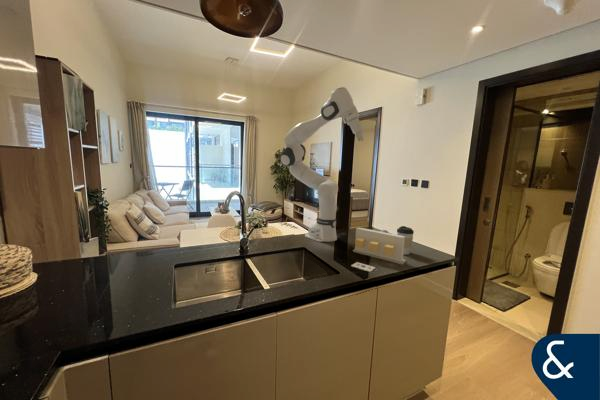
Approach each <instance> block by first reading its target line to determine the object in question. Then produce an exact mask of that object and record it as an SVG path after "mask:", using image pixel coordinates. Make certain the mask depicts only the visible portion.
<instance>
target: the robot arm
mask: <svg viewBox="0 0 600 400" xmlns="http://www.w3.org/2000/svg"><path fill="white" fill-rule="evenodd" d="M359 117H360V113H359V111H358V109H357V106H356V105H355V104H354V101H353V97H352V96H351V93H350V92H349V90H348V88H346V87H345V86H344V87H343V86H342V87H338V88H336V89H334V90H333V91H331V92H330V96H329V98H328V99H327V101H326V102H325V103H324V104H323V105H322V106H321V110H320V115H318V116H317V117H315V118H311V119H309V120H306V121H302V122H299V123H298V124H297V125H295V126H293V127H292V128H291V129H289V131H288V132H287V133H286V134H285V137H284V140H283V141H284V144H285V145H286V146H284V147H283V148H282V150H281V153H280V155H279V160H280V163H281V164H282V166H284V167H289V168H288V170H289V174H290V175H292V176H293V177H294V178H295V179H296V180H297V181H299V182H300V183H303V184H304V185H306V186H307V187H308V188H311V189H314V190H315V191H316V192H317V195H318V196H317V197H318V205H319V207H318V210H319V211H318V217H317V218H315V221H316V222H315V223H314V224H312V225H311V226H309V228H308V231H307V233H305V235H304V237H305V238H307V239H310V240H313V241H316V242H319V243H320V242H323V243H324V242H327V243H328V242H335V241H337V240H338V236H337V230H336V226H337V218H336V215H337V214H336V213H337V204H336V195H337V194H338V192H339V185H338V184H337V182H336V181H334V180H332V179H330V178H328V177H327V176H325V175H323V174H321V173H319V172H318V171H315V170H314V169H313V168H311V167H309V166H308V165H306V164H305V163H304V162H303V161H304V160H305V158H306V157H305V156H306V153H307V152H306V151H307V150H306V147H305V146H304V144H303V143H305V142H306V141H308V140H309V139H310V138H311V137H312V136H313V135H314V134H315V133H316V132H317V131H319V130H320V128H322V127H323V126H325V125H327V124H328V123H329V122H331V121H333V120H336V119H338V118H341V119H342V122H343V124H345V125H346V124H347V126H349V128H350V129H351V131H352V134H353V135H355V136H356V138H357V139H358V141H359V142H362V141H364V137H363V134H362V132H363V127H362V125H361V121H360V119H359Z"/></svg>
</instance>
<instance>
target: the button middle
mask: <svg viewBox="0 0 600 400" xmlns="http://www.w3.org/2000/svg"><path fill="white" fill-rule="evenodd" d="M379 245H380V244H379V243H378V242H373V241H372V242H370V243H369V250H371V251H375V252H377V251H378V250H379Z"/></svg>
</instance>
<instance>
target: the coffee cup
mask: <svg viewBox="0 0 600 400" xmlns="http://www.w3.org/2000/svg"><path fill="white" fill-rule="evenodd" d="M414 233H415V231H414V230H413V229H412V228H411V227H408V226H405V225H402V226H400V227H398V228H397V229H396V235H400V236H405V240H404V252H403V256H405V255H406V256H408V255H410V254H411V249H412V244H413V239H414Z"/></svg>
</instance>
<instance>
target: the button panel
mask: <svg viewBox="0 0 600 400" xmlns="http://www.w3.org/2000/svg"><path fill="white" fill-rule="evenodd" d="M358 238H360V239H365V240H366V242H365V247H363V248H359V247H355V246H354V249H352V252H353V253H357V254H360V255H364V256H368V257H372V258H376V259H380V260H383V261H388V262H392V263H395V264H397V265H398V264H399V265H402V266H403V265H404V264H405V263H406V259H404V255H403V252H404V240H405V236H400V235H397V234H394V233H390V232H389V233H384V232H380V230H379V231H378V230H375V229H374V230H373V229H369V228H365V227H364V228H363V227H356V228H355V241H356V239H358ZM372 241H373V242H380V244H379V250H378V251H377V252H375V251H371V250H369V243H370V242H372ZM385 245H391V246H395V248H394V254H393V255H392V256H391V255H387V254H384V246H385Z"/></svg>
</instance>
